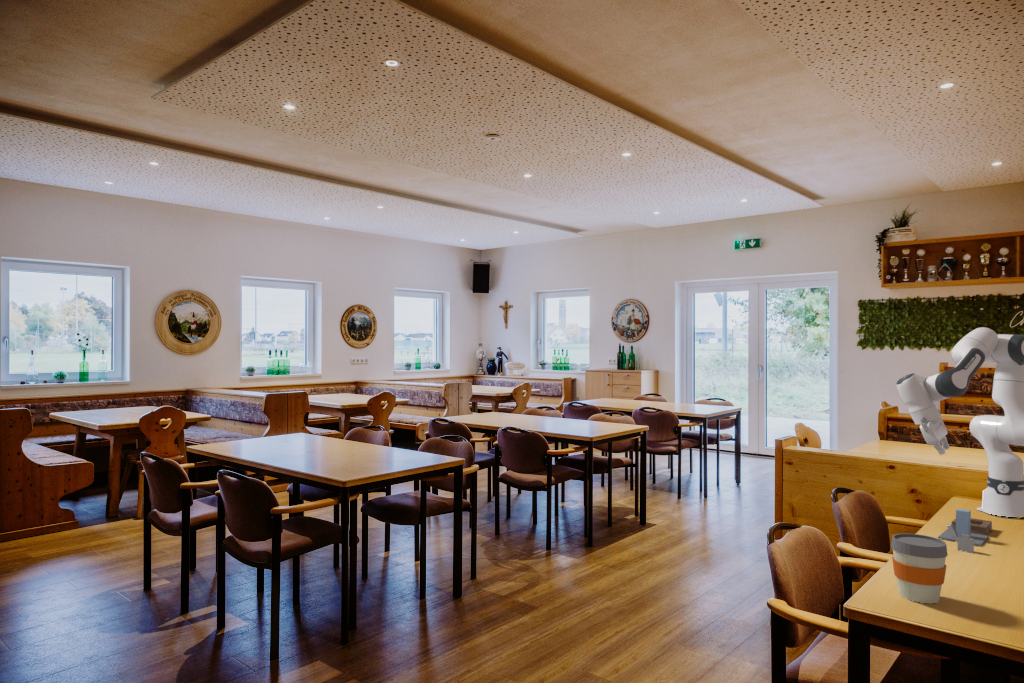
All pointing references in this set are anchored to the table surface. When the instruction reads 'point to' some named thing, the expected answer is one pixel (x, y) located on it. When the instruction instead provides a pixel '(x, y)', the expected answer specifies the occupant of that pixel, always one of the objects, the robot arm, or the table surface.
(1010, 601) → the table surface
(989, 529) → the pocket holder
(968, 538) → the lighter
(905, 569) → the reusable coffee cup
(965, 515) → the peg
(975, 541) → the rubber mat
